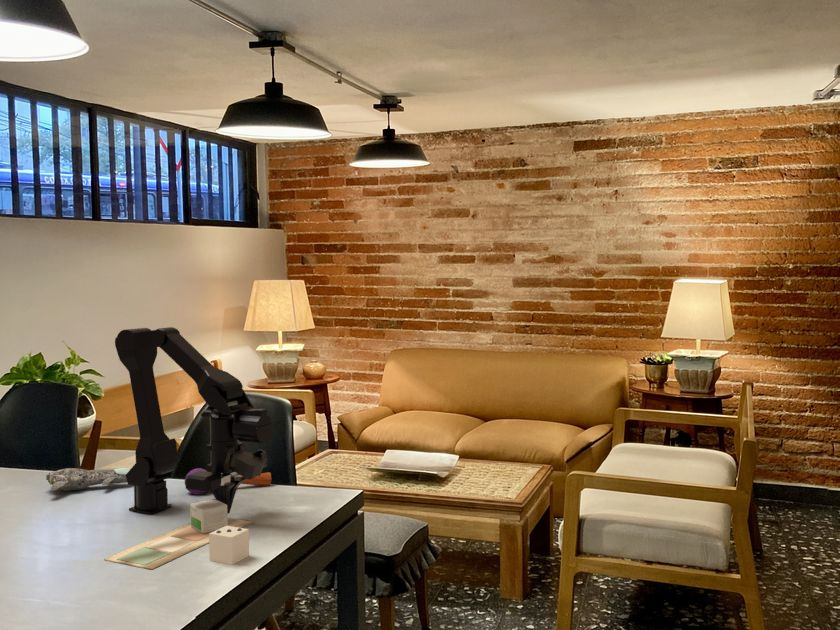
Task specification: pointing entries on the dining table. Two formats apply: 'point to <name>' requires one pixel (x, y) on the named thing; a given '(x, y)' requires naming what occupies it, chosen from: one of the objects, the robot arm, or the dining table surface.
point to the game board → (167, 546)
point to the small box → (208, 515)
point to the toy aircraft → (84, 478)
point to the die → (229, 544)
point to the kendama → (259, 480)
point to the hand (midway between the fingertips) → (226, 513)
